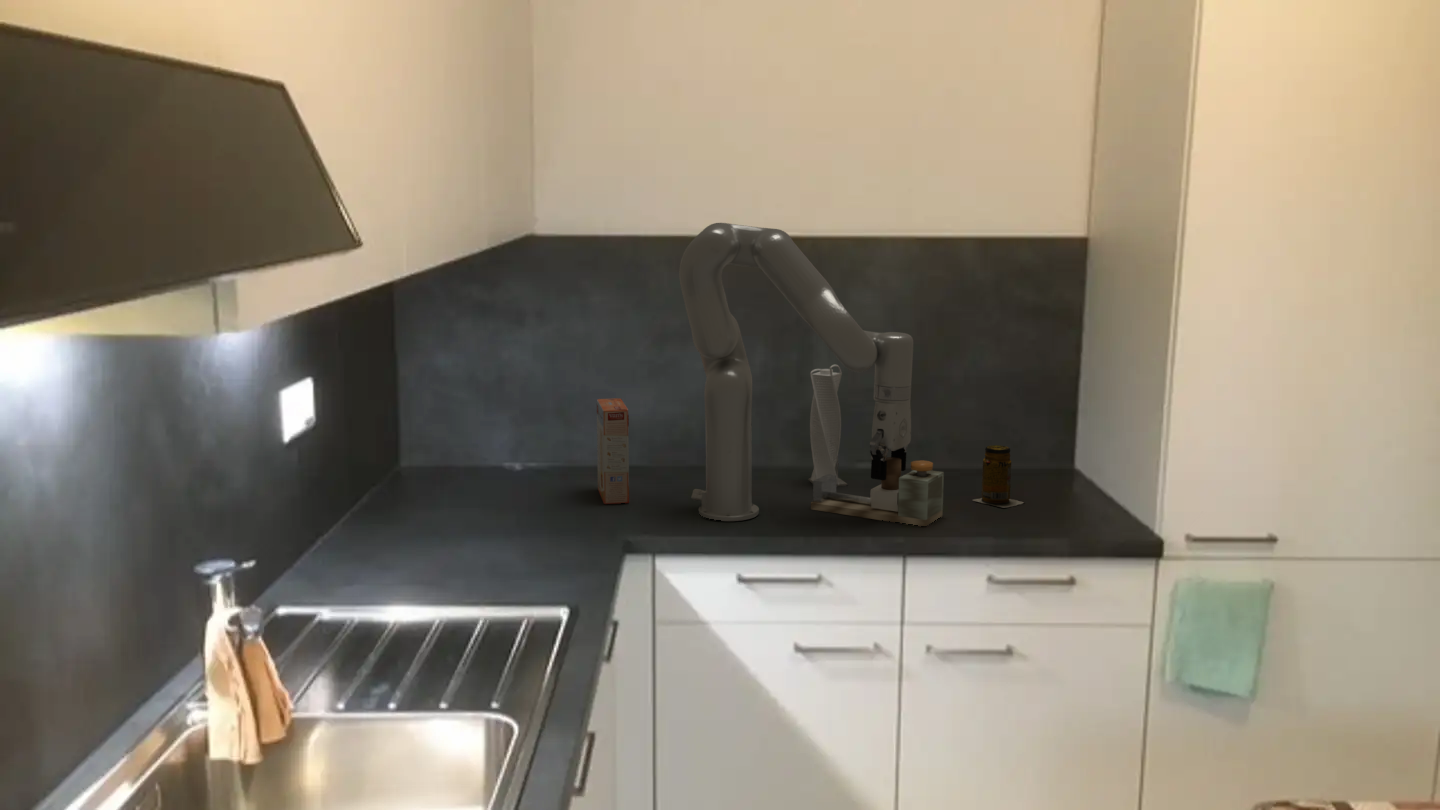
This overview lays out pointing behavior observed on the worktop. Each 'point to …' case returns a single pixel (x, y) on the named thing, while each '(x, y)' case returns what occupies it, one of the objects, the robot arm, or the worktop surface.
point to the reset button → (922, 467)
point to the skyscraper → (825, 423)
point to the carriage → (888, 487)
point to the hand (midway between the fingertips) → (888, 474)
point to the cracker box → (613, 450)
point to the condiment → (997, 477)
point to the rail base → (914, 507)
